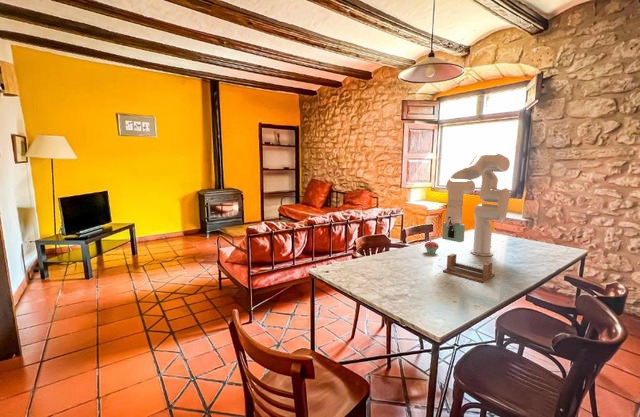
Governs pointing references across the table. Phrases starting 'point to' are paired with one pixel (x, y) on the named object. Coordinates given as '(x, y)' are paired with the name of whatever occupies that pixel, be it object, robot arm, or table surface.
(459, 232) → the door panel
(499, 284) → the table surface
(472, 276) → the brown wooden holder
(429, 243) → the cupcake
